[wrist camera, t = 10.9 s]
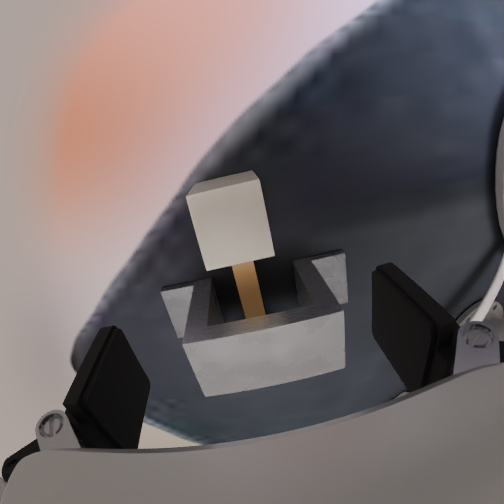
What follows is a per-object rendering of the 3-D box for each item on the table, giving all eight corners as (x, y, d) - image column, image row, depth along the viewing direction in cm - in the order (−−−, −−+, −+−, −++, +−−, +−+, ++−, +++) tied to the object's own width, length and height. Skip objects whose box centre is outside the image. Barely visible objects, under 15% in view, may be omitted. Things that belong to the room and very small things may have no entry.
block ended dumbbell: (252, 170, 23) (259, 179, 17) (286, 340, 29) (297, 379, 24) (195, 183, 23) (185, 196, 18) (242, 350, 29) (245, 390, 24)
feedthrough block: (341, 249, 26) (387, 298, 17) (345, 298, 27) (383, 355, 19) (162, 287, 26) (138, 350, 17) (179, 332, 27) (166, 400, 19)
